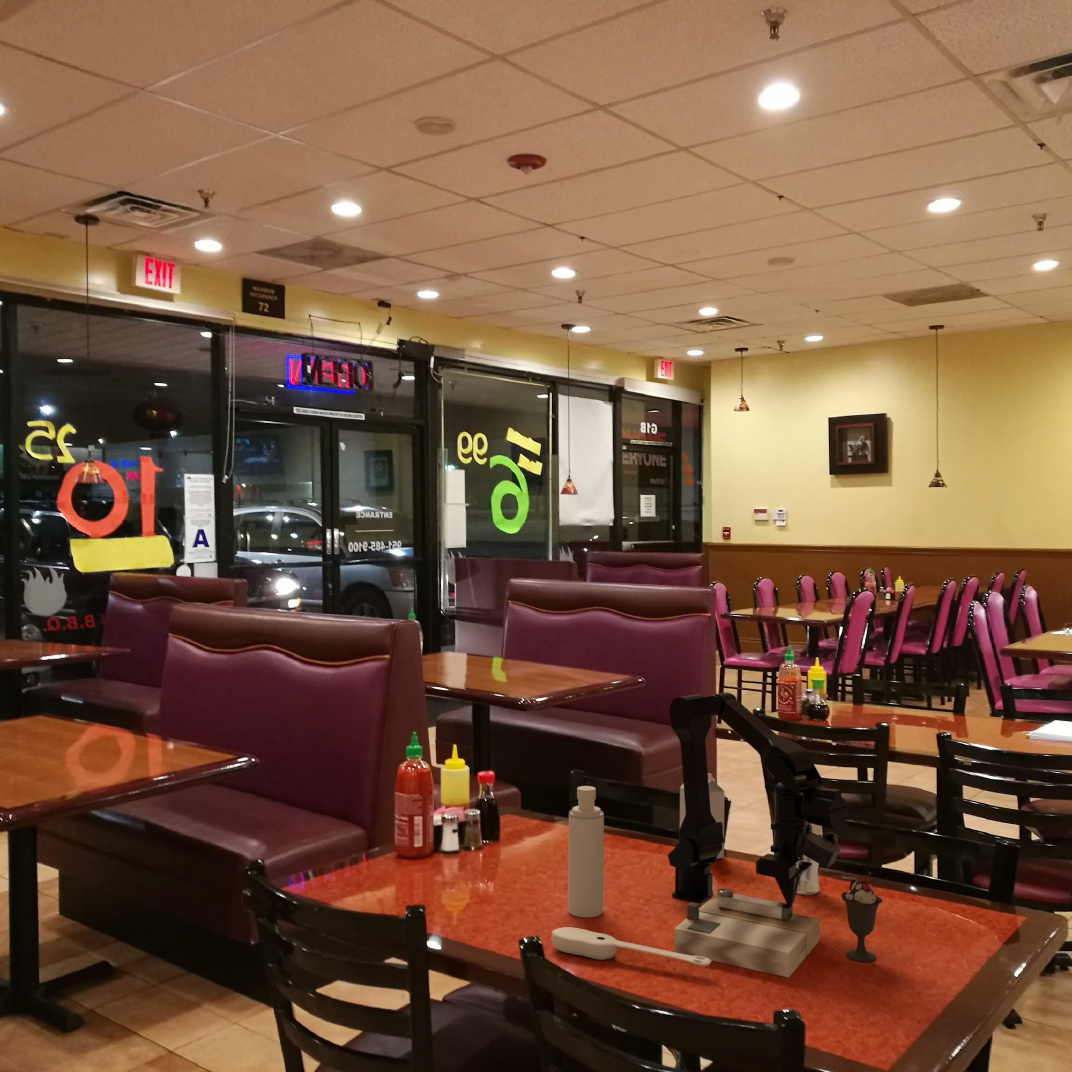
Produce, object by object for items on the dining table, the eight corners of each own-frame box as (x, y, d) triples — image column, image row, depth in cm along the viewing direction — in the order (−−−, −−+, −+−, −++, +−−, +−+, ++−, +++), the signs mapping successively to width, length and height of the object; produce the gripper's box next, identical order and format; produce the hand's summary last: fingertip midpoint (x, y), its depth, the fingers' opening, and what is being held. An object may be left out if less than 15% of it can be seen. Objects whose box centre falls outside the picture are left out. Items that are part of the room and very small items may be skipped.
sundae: (876, 967, 173) (877, 877, 173) (836, 958, 177) (836, 870, 177) (886, 954, 179) (887, 866, 179) (846, 945, 182) (847, 860, 182)
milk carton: (698, 863, 228) (698, 776, 228) (679, 854, 235) (679, 769, 235) (724, 858, 232) (725, 773, 232) (704, 849, 238) (705, 766, 238)
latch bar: (715, 906, 189) (715, 891, 189) (720, 901, 191) (720, 887, 191) (788, 920, 182) (788, 905, 182) (792, 915, 184) (792, 901, 184)
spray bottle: (610, 911, 198) (611, 779, 198) (587, 920, 194) (588, 785, 193) (583, 902, 203) (584, 774, 203) (560, 911, 198) (561, 779, 198)
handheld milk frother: (714, 972, 172) (715, 955, 172) (705, 986, 166) (705, 968, 166) (559, 939, 184) (559, 923, 184) (545, 950, 178) (546, 934, 178)
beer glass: (818, 885, 214) (819, 812, 214) (824, 896, 207) (825, 821, 207) (784, 883, 215) (784, 811, 215) (788, 895, 208) (789, 820, 208)
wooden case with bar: (674, 951, 179) (674, 913, 179) (712, 919, 195) (712, 884, 195) (788, 977, 169) (788, 937, 169) (819, 941, 185) (819, 904, 185)
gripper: (816, 837, 177) (815, 929, 177) (851, 813, 193) (850, 898, 193) (754, 826, 184) (753, 915, 184) (792, 804, 199) (792, 886, 199)
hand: (790, 903), depth 190 cm, fingers closed
